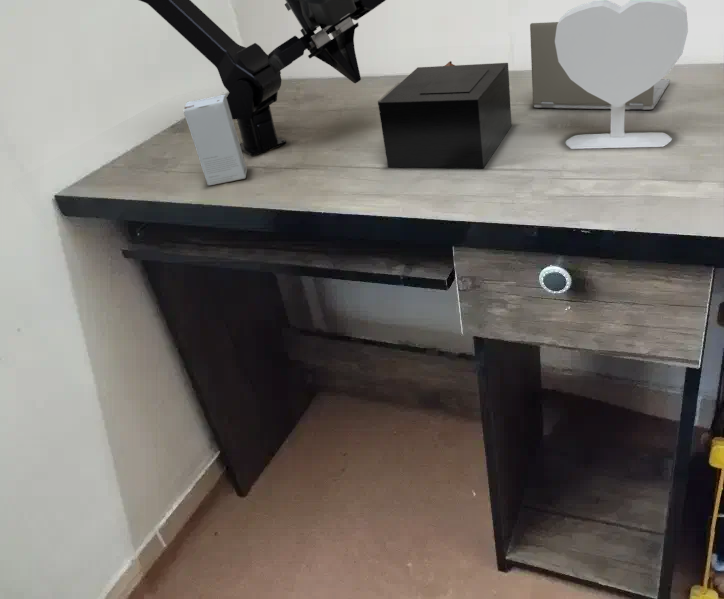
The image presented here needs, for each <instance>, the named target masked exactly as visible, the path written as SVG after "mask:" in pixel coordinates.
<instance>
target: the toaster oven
mask: <svg viewBox="0 0 724 599" xmlns="http://www.w3.org/2000/svg"><path fill="white" fill-rule="evenodd" d="M454 65H455V64H454ZM509 72H510V71H509V62H495V63H476V64H456V65H455V66H445V65H438V66H437V65H436V66H420V67H418V66H417V67H416V68H415V69H414V70H413V71H412V72H410V74H408V75H407V76H406V77H405V78H404V79H403V80H402V81H401V82H397V83H396V84H395V85H394V86H392V87H391V88H390V89H389V90H388V91H387V92H386V93H385V94H384V95H383V96H381V98H379V99H378V100H377V105H378V110H379V118H380V124H381V131H382V138H383V144H384V151H385V157H386V164H387V168H392V169H393V168H395V169H397V168H399V169H401V168H402V169H404V168H405V169H407V168H408V169H412V168H413V169H484V168H485V167H486V165H487V163H488V162H489V161H490V159H491V158H492V156H493V154H495V152H496V150H497V148H498V147H499V145H500V144H501V142H502V141H503V139H504V138H505V136H506V135H507V133H508V132H509V130H510V129H511V127H512V108H511V92H510V89H511V88H510V73H509Z"/></svg>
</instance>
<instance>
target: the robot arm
mask: <svg viewBox="0 0 724 599" xmlns="http://www.w3.org/2000/svg"><path fill="white" fill-rule="evenodd" d="M138 1H140V2H142V3H144V4H147V5H148V6H149V7H150V8H151V9H153V11H154V12H156V14H158V15H159V16H160V17H161V18H162V19H164V21H166V22H167V23H168V24H169V25H170V26H171V27H172V28H173V29H174V30H175V31H177V32H178V33H179V34H180V36H182V37H183V39H185V41H187V42H188V43H189V44H191V45H192V46H193V47H194V48H195V49H196V50H197V51H198V52H199V53H200V54H201V55H202V56H204V58H205V59H207V60H208V62H210V63H211V64H212V65H213V66H214V67H215V68H216V69H217V71H218V74H219V78H220V80H221V83H222V85H223V87H224V88H225V89H226V90H227V92H228V94H227V95H226V98H227V101H228V105H229V109H230V112H231V115H232V119H233V120H236V122H237V126H238V131H239V134H240V138H241V141H242V142H241V143H240V147H241V150H242V153H245V154H246V155H249V156H251V157H253V156H256V155H260V154H263V153H266V152H267V151H270V150H273V149H275V148H279V147H281V146H284V145H286V144H287V141H286V140H285V139H284V138H281V137H279V136H277V132H276V127H275V123H274V118H273V115H272V111H271V105H272V104H274V103H276V102H277V101H278V93H279V90H280V89H281V86H282V75H281V74H282V70H284V69H286V67H288V66H290V65H291V64H293V63H294V62H295V61H296V60H298V59H299V58H301V57H303V55H304V54H305V51H306V50H307V51H308V52H309V53H310V54H308V55H307V58H308V59H312V58H313V57H314V58H316V59H318V60H320V61H322V62H324V63H325V64H327V65H329V66H330V67H332V68H333V69H335V70H336V71H337V72H339V73H340V74H341V75H343V76H344V77H345V78H347V79H348V80H349V81H350V82H352V83H353V84H357V83H359V82H360V81H361V80H362V77H361V73H360V68H359V64H358V59H357V54H356V50H355V32H356V29H357V28H358V27H359V26H360V25H359V22H356V23H354V22H353V20H354V21H358V20H359V19H361V18H362V17H364V16H365V15H367V14H368V13H370V12H371V11H373V10H375V9H376V8H377V7H379V6H381V4H383V3H385V2H386V1H387V0H285V4H284V6H285V8H286V10H287V11H288V12H290V11H292V13H293V15H294V17H295V18H296V20H297V21H298V23H299V25H300V27H301V29H299V31H300V33H301V34H302V36H301V37H298V36H297V35H293V36H292V37H291V38H289V39H287V40H285V41H284V42H283V43H280V45H277V47H275V48H274V49H273V50H271V51H270V52H269V53H268V54H267V53H266V52H265V50H264V49H263V48H262V47H261V46H260V45H259V44H258V43H256V42H254V43H252V44H250V45H248V46H246V47H245V46H242V45H240V44H239V43H237V42H236V41H235V40H234V39H233V38H232V37H231V36H229V35H228V34H227V33H226V32H225V31H224V30H223V29H222V28H221V27H220V26H219V25H217V24H216V22H214V20H212V19H211V18H210V17H209V16H208V15H207V14H206V13H205V12H204V11H203V10H202V9H200V8H199V7H198V5H196V4H195V3H194V2H193V1H192V0H138ZM319 28H320V30H318V29H319ZM316 30H318V32H316ZM330 34H331V36H332V39H331V37H330V36H329V35H330Z"/></svg>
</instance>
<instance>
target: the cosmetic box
mask: <svg viewBox="0 0 724 599" xmlns="http://www.w3.org/2000/svg"><path fill="white" fill-rule="evenodd" d="M182 112H183V114H184V117H185V120H186V123H187V126H188V129H189V133H190V135H191V138H192V142H193V144H194V148H195V150H196V154H197V157H198V160H199V163H200V166H201V169H202V172H203V176H204V178H205V182H206V185H207V186H215V185H220V184H224V183H229V182H234V181H239V180H244V179H246V178H247V172H248V168H247V164H246V162H245V158H244V154H243V151H242V150H241V147H240V144H241V143H240V140H239V136H238V133H237V129H236V127H235V122H234V119H232V115H231V112H230V109H229V105H228V101H227V95H226V94H221V95H215V96H210V97H204V98H201V99H196V100H195V99H194V100H190V101H187V102H186V103H185V105H184V108H183V111H182Z"/></svg>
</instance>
